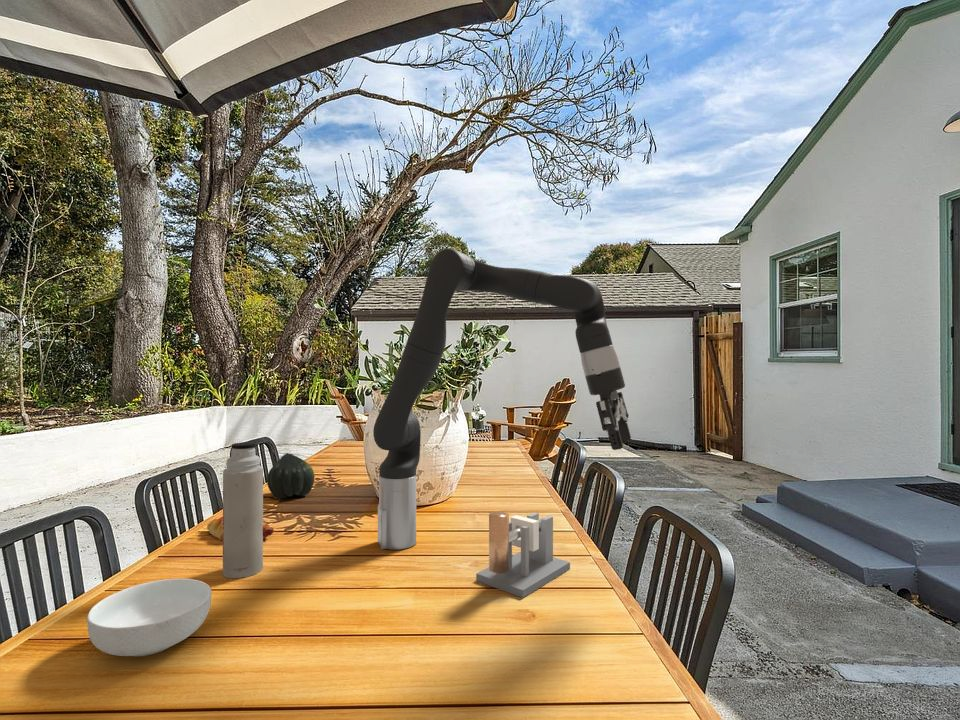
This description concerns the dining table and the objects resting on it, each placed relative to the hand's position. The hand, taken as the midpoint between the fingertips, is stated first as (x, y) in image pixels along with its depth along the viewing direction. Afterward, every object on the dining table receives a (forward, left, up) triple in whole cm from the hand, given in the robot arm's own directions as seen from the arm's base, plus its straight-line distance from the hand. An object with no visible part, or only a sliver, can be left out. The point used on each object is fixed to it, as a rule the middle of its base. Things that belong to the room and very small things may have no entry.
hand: (622, 444), depth 106 cm
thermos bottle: (-75, +32, -29) cm, 87 cm away
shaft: (-19, +9, -25) cm, 33 cm away
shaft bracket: (-18, +10, -29) cm, 35 cm away
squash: (-66, +94, -29) cm, 119 cm away
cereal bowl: (-86, +6, -29) cm, 91 cm away
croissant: (-79, +57, -29) cm, 101 cm away
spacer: (-18, +10, -23) cm, 30 cm away
